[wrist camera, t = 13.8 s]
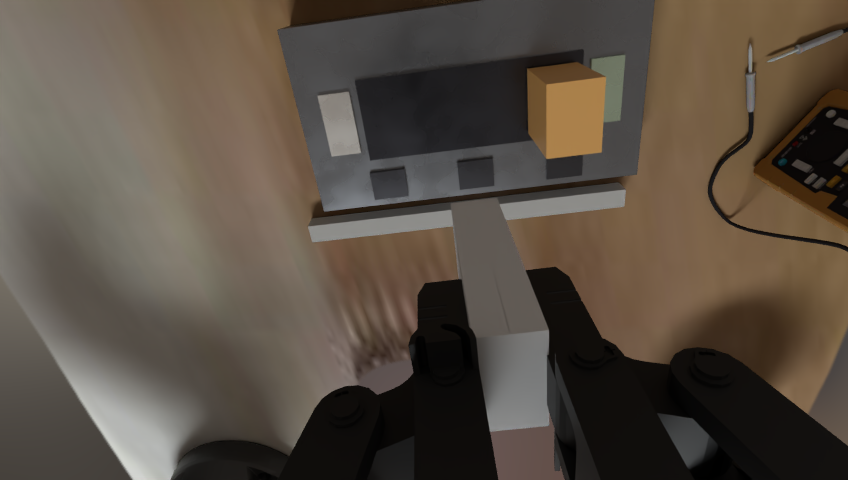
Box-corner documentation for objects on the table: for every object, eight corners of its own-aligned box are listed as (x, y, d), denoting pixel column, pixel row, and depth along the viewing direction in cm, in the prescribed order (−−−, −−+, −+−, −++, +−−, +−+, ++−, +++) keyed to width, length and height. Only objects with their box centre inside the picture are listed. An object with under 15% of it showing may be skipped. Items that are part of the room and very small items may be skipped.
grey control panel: (331, 194, 36) (323, 212, 33) (289, 25, 30) (276, 29, 27) (620, 159, 34) (638, 175, 32) (635, -24, 29) (658, -25, 26)
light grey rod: (315, 233, 37) (312, 242, 36) (311, 218, 37) (308, 226, 35) (617, 199, 36) (624, 206, 35) (618, 182, 35) (625, 189, 34)
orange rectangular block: (528, 133, 30) (546, 159, 25) (527, 68, 28) (546, 84, 24) (575, 127, 30) (601, 152, 25) (577, 61, 28) (606, 76, 23)
